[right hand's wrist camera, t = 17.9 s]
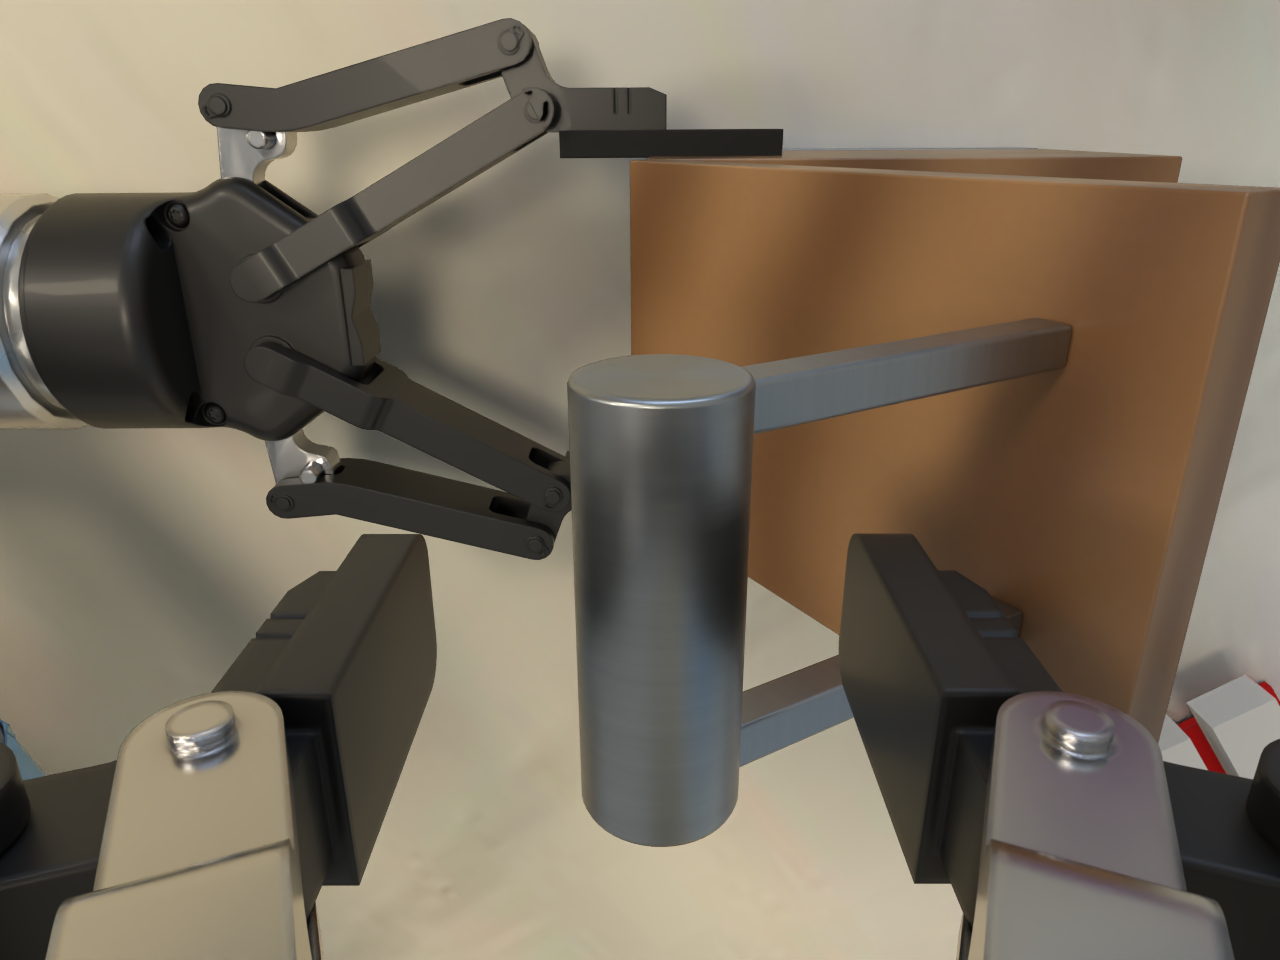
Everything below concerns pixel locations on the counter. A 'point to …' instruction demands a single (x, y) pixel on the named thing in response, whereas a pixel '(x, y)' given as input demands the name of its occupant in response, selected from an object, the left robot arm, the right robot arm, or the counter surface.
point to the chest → (977, 162)
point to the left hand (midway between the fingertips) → (768, 309)
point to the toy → (1225, 729)
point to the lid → (895, 440)
